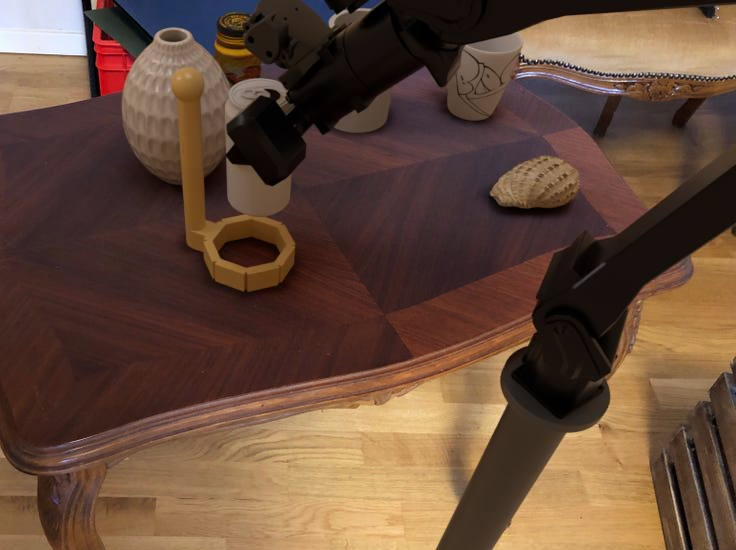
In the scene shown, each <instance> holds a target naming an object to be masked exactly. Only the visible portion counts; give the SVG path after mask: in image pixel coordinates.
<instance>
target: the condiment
mask: <svg viewBox="0 0 736 550" xmlns="http://www.w3.org/2000/svg"><path fill="white" fill-rule="evenodd" d="M251 16H252V14H250V13H248V12H244V11H232V12H227V13H225V14H221V16H220V17H218V18H217V21H216V34H215V36H216V39H215V40H214V43H213V44H214V45H213V50H214V51H213V52H214V53H213V55H214V56H213V57H214V59H215V60H216V61H217V62H218V64H219V65H220V67H221V69H222V70H223V72H224V74H225V76H226V78H227V80H228V82H229V85H230V88H232V87H233V86H234V85H235V84H237V83H239V82H241V81H244V80H248V79H255V78H262V72H263V71H262V61H260V60H259V59H258V58H257V57H255V56H254V55H253V54H252V53H251V52H249V51H248V50H247V49H246V47H245V44H244V38H243V35H244V33H245V32H244V31H243V29H242V25H243V24H244V23H245V22H246V21H247V20H248V19H250V18H251Z"/></svg>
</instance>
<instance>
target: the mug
mask: <svg viewBox="0 0 736 550" xmlns="http://www.w3.org/2000/svg"><path fill="white" fill-rule="evenodd" d="M523 45H524V39H523V37H522V35H521V34H520V33H519V32H516V33H514V34H511V35H507V36H503V37H499V38H494V39H490V40H486V41H482V42H477V43H473V44H469V45H466V46H465V47H464V49H463V51H462V57H461V65H460V67H459V69H458V70H457V71H456V73H455V74H454V75H453V77H452V78H451V79H450V81H449V82H448V83H447V85H446V86H445V87H439V86H438V85H437V83H436V82H435V80H434V79H433V77H432V75H431V74H430V73H429V74H430V81H431V83H432V84H433V85H434V86H435V87H436V88H438V89H441V90H445V91H447V98H446V99H447V100H446V102H447V103H446V106H447V109H448V111H449V112H450V113H451V114H452V115H453V116H455V117H457V118H460V119H462V120H465V121H473V122H476V121H483V120H486V119H488V118H490V117H491V116H492V115H493V113H494V112H495V110H496V109H497V108H496V107H497V106H498V104H499V102H500V100H501V98H502V96H503V94H504V92H505V90H506V88H507V86H508V84H509V83H510V80H511V77H512V75H513V72H514V70H515V68H516V64H517V62H518V59H519V57H520V54H521V51H522V48H523Z"/></svg>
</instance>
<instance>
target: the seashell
mask: <svg viewBox="0 0 736 550" xmlns="http://www.w3.org/2000/svg"><path fill="white" fill-rule="evenodd" d="M570 164H571V163H570V161H564V159H563V158H561V157H559V156H551V155H546V154H545V155H540V156H536V157H534V158H531V159H528V160H525V161H523V162H521V163H519V164H517V165H516V166H514V167H513V168H511V169H510V170H509V171H507V172H505V173H504V174H503V175H502V176H500V178H499V179H498V181H497V182H496V183H495V184H494V185H493V187H492V189H491V190H490V191H489V193H488V195H489V196H491V197H492V198H493V199H494V200H495V201H496V202H497V204H498V205H499V206H501V207H516V208H520V209H532V208H543V209H554V208H558V207H560V206H564V205H567V204H568V203H569V202H571V201H572V200H573V199H575V198H576V196H577V195H578V193H579V191H580V190H579V189H580V186H581V180H579V178H580V174H579V170H577V169H576V168H575V167H573V166H572V165H570Z"/></svg>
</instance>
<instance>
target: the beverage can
mask: <svg viewBox="0 0 736 550" xmlns="http://www.w3.org/2000/svg"><path fill="white" fill-rule="evenodd" d="M287 91H288V90H286V89H285V88H284V86H283V85H282V84H281V82H280V81H279V80H274V79H270V78H263V77H261V78H255V79H248V80H244V81H241V82H239V83H237V84H235V85H234V86H233V87H232V88H231V89H230V91H229V98H228V100H227V102H226V104H225V132H226V153H225V155H226V154H227V152H228V151H229V150H230V149H231V147H232V146H233V145H234V142H233V141H232V140H231V139H230V137H229V136H228V135H227V130H226V124H227V123H228V122H229V121H230V120H231V119H233V118H234V117H235V116H236V115H237V114H238V113H239V112H240V111H241V110H242V109H243V108H245V107H246V106H247V105H248V104H249V103H251V102H252V101H253V100H254V99H256V98H257V97H258V96H260V95H263V96H266V97H269V98H273V99H275V100H276V102H277V103H278V105H279V106H280V107H281V109H282V110H283V112H284V113H286V112H287V111H288V110H289V109H290V108H291V107H292V106H293V105H294V104H293V103H292V104H291V105H290V104H289V103H288V102H287V101H286V99H285V98H284V94H285V93H286V92H287ZM225 160H226V163H225V164H226V165H225V166H226V190H227V191H226V193H227V194H226V195H227V200H228V203H229V204H230V206H231V207H232V208H233V209H234V210H236V211H237V212H239V213H241V214H242V215H248V216H253V217H266V218H267V217H271V216H274V215H275V214H277V213H279V212H281V211H283V210H284V209H285V208H286V207H287V206H288V204H289V202H290V200H291V189H292V173H291V174H290V175H289V177H288V178H286V179H285V180H283V181H281V182H280V183H278V184H276V185H274V186H273V187H272V186H269V185H265V184H264V182H263V181H262V180H261V178H260V177H259V176H258V174H257V173H256V172H255V170H254V169H253V168H252V166H249V165H234V164H231V162H230V161H229V160H228V159H227V157H226V156H225Z"/></svg>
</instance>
